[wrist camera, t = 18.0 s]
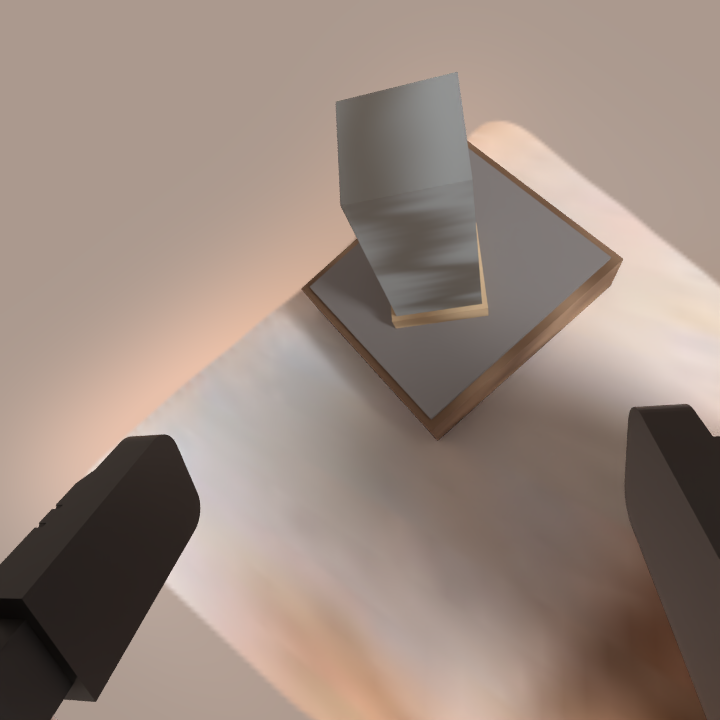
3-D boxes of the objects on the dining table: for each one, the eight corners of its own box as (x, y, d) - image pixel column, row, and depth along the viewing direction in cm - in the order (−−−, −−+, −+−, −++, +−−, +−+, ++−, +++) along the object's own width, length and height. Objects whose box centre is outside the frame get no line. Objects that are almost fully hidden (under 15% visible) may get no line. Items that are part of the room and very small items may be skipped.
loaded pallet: (477, 232, 32) (464, 63, 20) (488, 315, 31) (481, 184, 19) (389, 248, 34) (328, 97, 21) (395, 328, 32) (333, 213, 20)
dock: (469, 174, 38) (466, 137, 34) (610, 285, 33) (624, 256, 30) (318, 309, 38) (299, 287, 34) (437, 440, 33) (430, 431, 30)
